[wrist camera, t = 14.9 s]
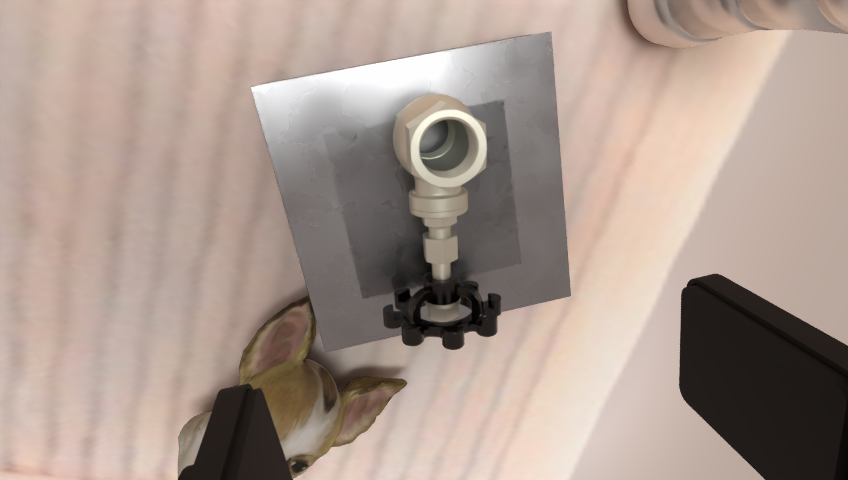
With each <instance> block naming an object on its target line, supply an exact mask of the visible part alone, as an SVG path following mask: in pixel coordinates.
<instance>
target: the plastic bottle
mask: <svg viewBox="0 0 848 480" xmlns="http://www.w3.org/2000/svg"><path fill="white" fill-rule="evenodd" d="M627 1H628V10H629V16H630V18H631V21H632V23H633V25H634V27H635V28H636V30H637V31H638V32H639V33H640V34H641V35H642V36H643V37H644V38H645V39H647V40H649V41H651V42H652V43H656V44H660V45H663V46H668V47H672V48H688V47H692V46H697V45H701V44H705V43H709V42H712V41H714V40H717V39H719V38H722V37H725V36H730V35H735V34H740V33H746V32H751V31H756V30H799V29H803V30H813V31H824V32H834V33H843V34H848V0H627Z"/></svg>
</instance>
